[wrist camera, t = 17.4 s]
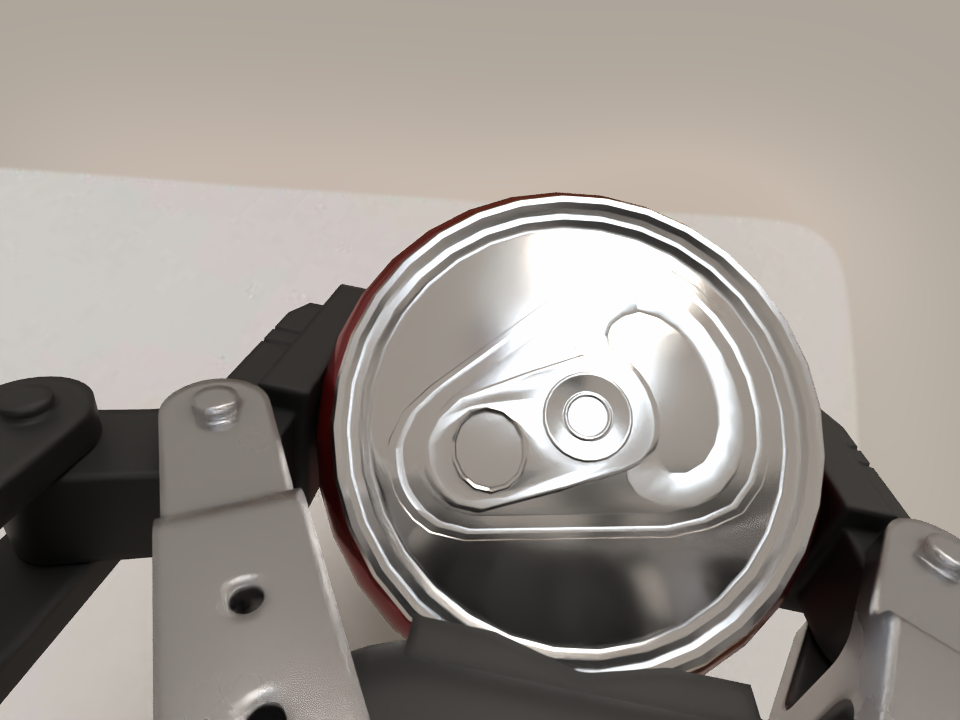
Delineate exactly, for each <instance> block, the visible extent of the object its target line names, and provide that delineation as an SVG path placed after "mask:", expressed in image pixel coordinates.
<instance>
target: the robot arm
mask: <svg viewBox="0 0 960 720" xmlns="http://www.w3.org/2000/svg"><path fill="white" fill-rule="evenodd" d="M365 291H366V289H364V288H359V287H354V286H349V285H344V284H342V285H340V286H339V287H338V288H337V290H336V291H335V292H334V293H333V294H332V296H331V297H330V298H329V299H328V300H327V301H326V303H325V304H324V305H319V304H314V303H309V304H307V305H304V306H302V307H300V308H298V309H295V310H293V311H291V312H289V313H288V314H287V315H286V316H285V317H284V318H283V319H282V320H281V321H280V322H279V323H278V324H277V325H276V326H275V329H272V331H271V332H270V333H269V334H268V335H267V336H266V337H265V339H264V341H261V342H260V343H259V344H258V345H257V346H256V347H255V349H254V350H253V351H252V352H251V353H250V354H249V355H248V356H247V357H246V358H245V359H244V360H243V361H242V362H241V363H240V364H239V365H238V366H237V368H236V369H235V370H234V371H233V372H232V373H231V374H230V375H229V376H228V377H227V378H226V379H210V380H204V381H200V382H196V383H193V384H190V385H187V386H185V387H183V388H181V389H179V390H177V391H176V392H174V393H172V394H171V395H170V396H169V397H168V398H167V399H166V400H165V401H164V402H163V403H162V405H161V407H160V409H139V410H98V409H97V405H96V401H95V398H94V394H93V391H92V390H91V389H90V387H88V386H87V385H86V384H84V383H82V382H80V381H78V380H74V379H71V378H65V377H52V376H50V377H34V378H27V379H22V380H17V381H13V382H9V383H5V384H3V385H0V529H1V528H2V527H4V529H5V532H6V535H5V536H4V537H3V538H1V539H0V704H1V703H2V702H3V700H4V699H5V698H6V697H7V696H8V694H9V693H10V692H11V691H12V690H13V688H14V687H15V686H16V685H17V684H18V682H19V681H20V680H21V679H22V678H23V676H24V675H25V674H26V673H27V672H28V670H29V669H30V668H31V667H32V666H33V664H34V663H35V662H36V661H37V660H38V658H39V657H40V656H41V655H42V654H43V652H44V651H45V650H46V649H47V648H48V646H49V645H50V644H51V643H52V642H53V640H54V639H55V638H56V637H57V636H58V634H59V633H60V632H61V631H62V630H63V628H64V627H65V626H66V625H67V624H68V622H69V621H70V620H71V619H72V618H73V616H74V615H75V614H76V613H77V612H78V610H79V609H80V608H81V607H82V606H83V604H84V603H85V602H86V601H87V600H88V598H89V597H90V596H91V595H92V594H93V592H94V591H95V590H96V589H97V588H98V586H99V585H100V584H101V583H102V582H103V580H104V579H105V578H106V577H107V576H108V574H109V573H110V572H111V571H112V570H113V568H114V567H115V566H116V565H117V564H118V562H119V561H120V560H123V559H135V558H148V557H152V564H153V720H762V719H761V718H760V715H759V711H758V708H757V705H756V701H755V698H754V695H753V692H752V688H751V685H748V684H743V683H739V682H734V681H729V680H724V679H720V678H715V677H710V676H705V675H701V674H696V673H691V672H686V671H681V670H677V669H672V668H653V669H638V670H623V671H608V672H593V673H588V672H581V671H578V670H575V669H573V668H571V667H569V666H566V665H564V664H562V663H560V662H558V661H556V660H554V659H552V658H550V657H548V656H546V655H544V654H541V653H539V652H537V651H535V650H533V649H531V648H529V647H527V646H525V645H523V644H521V643H519V642H516V641H514V640H512V639H510V638H508V637H506V636H504V635H502V634H500V633H498V632H495V631H491V630H486V629H481V628H476V627H472V626H467V625H462V624H457V623H453V622H448V621H443V620H438V619H433V618H429V617H424V616H419V615H414V614H413V617H412V622H411V626H410V630H409V634H408V638H407V641H395V642H386V643H381V644H376V645H371V646H367V647H363V648H360V649H357V650H354V651H351V652H350V649H349V645H348V642H347V638H346V635H345V631H344V628H343V625H342V621H341V618H340V614H339V611H338V607H337V604H336V600H335V597H334V593H333V590H332V587H331V583H330V580H329V576H328V573H327V569H326V566H325V562H324V559H323V555H322V552H321V548H320V545H319V542H318V538H317V535H316V531H315V528H314V524H313V521H312V517H311V514H310V510H309V506H310V504H311V502H312V500H313V498H314V496H315V494H316V492H317V490H318V488H319V476H318V463H317V449H316V436H315V433H316V425H317V417H318V409H319V401H320V394H321V388H322V383H323V379H324V376H325V373H326V370H327V367H328V364H329V360H330V357H331V354H332V351H333V348H334V345H335V342H336V339H337V337H338V335H339V333H340V332H341V330H342V328H343V326H344V325H345V323H346V321H347V319H348V317H349V316H350V314H351V312H352V310H353V309H354V307H355V305H356V303H357V302H358V300H359V298H360V296H361V295H362V294H363V293H364V292H365ZM821 415H822V426H823V437H824V448H825V459H826V465H825V474H824V484H823V494H822V504H821V513H820V516H819V519H818V522H817V525H816V529H815V532H814V535H813V538H812V541H811V545H810V548H809V551H808V554H807V557H806V561H805V563H804V564H803V566H802V568H801V570H800V572H799V573H798V575H797V577H796V579H795V580H794V582H793V584H792V586H791V588H790V589H789V591H788V593H787V595H786V597H785V598H784V600H783V602H782V604H781V605H780V607H779V608H782V609H787V610H792V611H796V612H801V613H804V615H805V618H806V620H807V621H806V622H805V623H804V625H803V626H802V627H801V628H800V629H799V630H798V632H797V633H796V635H795V637H794V640H793V644H792V647H791V650H790V653H789V656H788V659H787V663H786V666H785V669H784V672H783V675H782V678H781V682H780V685H779V688H778V691H777V694H776V697H775V701H774V704H773V707H772V710H771V713H770V716H769V719H768V720H960V539H959V538H957V537H956V536H954V535H952V534H950V533H949V532H947V531H945V530H943V529H941V528H938V527H936V526H934V525H932V524H929V523H926V522H923V521H920V520H916V519H911V518H910V517H909V516H908V514H907V513H906V512H905V510H904V509H903V508H902V506H901V505H900V503H899V502H898V501H897V500H896V498H895V497H894V495H893V494H892V493H891V491H890V490H889V489H888V487H887V486H886V485H885V483H884V482H883V481H882V479H881V478H880V477H879V476H878V474H877V472H876V471H875V470H874V468H871V467H869V464H870V463H869V462H868V460H867V459H866V458H865V456H864V455H863V454H862V452H861V451H858V450H857V446H856V444H855V443H854V442H853V440H852V439H851V438H850V436H849V435H848V433H847V432H846V431H845V429H844V428H843V427H842V426H841V425H840V424H838V423H837V422H836V421H835V420H833V419H832V418H831V417H830V416H829V415H827V414H826V413H825V412H824V411H822V410H821Z"/></svg>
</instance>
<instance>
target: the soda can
mask: <svg viewBox="0 0 960 720" xmlns="http://www.w3.org/2000/svg"><path fill="white" fill-rule="evenodd" d="M315 436H316V449H317V463H318V476H319V487H320V490H321V494H322V497H323V501H324V505H325V508H326V512H327V515H328V519H329V523H330V526H331V530H332V533H333V537H334V539H335V541H336V543H337V545H338V547H339V549H340V551H341V553H342V554H343V556H344V558H345V560H346V562H347V564H348V566H349V568H350V570H351V572H352V574H353V576H354V578H355V580H356V582H357V584H358V586H359V587H360V588H361V589H362V591H363V592H364V593H365V594H366V596H367V597H368V598H369V599H370V601H371V602H372V603H373V604H374V606H375V607H376V608H377V609H378V611H379V612H380V613H381V614H382V616H383V617H384V618H385V619H386V621H387V622H388V623H389V624H390V626H391V627H392V628H393V629H394V630H395V631H396V632H398V633H399V634H400V635H401V636H402V637H404V638H405V639H406V640H407V638H408V634H409V630H410V626H411V622H412V617H413V614H414V615H419V616H424V617H429V618H433V619H438V620H443V621H448V622H453V623H457V624H462V625H467V626H472V627H476V628H481V629H486V630H491V631H495V632H498V633H500V634H502V635H504V636H506V637H508V638H510V639H512V640H514V641H516V642H519V643H521V644H523V645H525V646H527V647H529V648H531V649H533V650H535V651H537V652H539V653H541V654H544V655H546V656H548V657H550V658H552V659H554V660H556V661H558V662H560V663H562V664H564V665H566V666H569V667H571V668H573V669H575V670H578V671H581V672H588V673H593V672H608V671H623V670H638V669H653V668H672V669H677V670H681V671H686V672H691V673H696V674H701V675H705V674H706V673H708V672H709V671H710V670H712V669H713V668H714V667H716V666H717V665H719V664H720V663H721V662H723V661H724V660H726V659H727V658H728V657H730V656H731V655H733V654H734V653H735V652H737V651H738V650H739V649H741V648H742V647H744V646H745V645H746V644H747V643H748V642H749V641H750V639H751V638H752V637H753V636H754V635H755V634H756V633H757V632H758V630H759V629H760V628H761V627H762V626H763V625H764V624H765V623H766V621H767V620H768V619H769V618H770V617H771V616H772V615H773V614H774V612H775V611H776V610H777V609H778V608H779V607H780V605H781V604H782V602H783V600H784V598H785V597H786V595H787V593H788V591H789V589H790V588H791V586H792V584H793V582H794V580H795V579H796V577H797V575H798V573H799V572H800V570H801V568H802V566H803V564H804V563H805V561H806V557H807V554H808V551H809V548H810V545H811V541H812V538H813V535H814V532H815V529H816V525H817V522H818V519H819V516H820V513H821V504H822V494H823V484H824V474H825V465H826V459H825V448H824V437H823V426H822V415H821V408H820V405H819V401H818V398H817V394H816V391H815V387H814V384H813V380H812V377H811V373H810V369H809V366H808V363H807V361H806V359H805V357H804V355H803V353H802V351H801V349H800V347H799V345H798V343H797V341H796V339H795V337H794V335H793V332H792V330H791V328H790V326H789V324H788V322H787V321H786V319H785V318H784V317H783V315H782V314H781V312H780V311H779V310H778V308H777V307H776V306H775V304H774V303H773V302H772V300H771V299H770V297H769V296H768V295H767V293H766V292H765V291H764V289H763V288H762V287H761V285H760V284H759V283H758V282H757V281H756V280H755V279H754V278H753V277H752V276H751V275H750V274H749V273H748V272H747V271H746V270H745V269H743V268H742V267H741V266H740V265H739V264H738V263H737V262H736V261H735V260H734V259H733V258H732V257H731V256H730V255H729V254H728V253H727V252H725V251H724V250H722V249H721V248H719V247H718V246H717V245H715V244H714V243H712V242H711V241H709V240H708V239H706V238H705V237H703V236H702V235H700V234H699V233H697V232H696V231H694V230H693V229H691V228H690V227H688V226H686V225H684V224H682V223H680V222H678V221H675V220H673V219H671V218H669V217H667V216H664V215H662V214H660V213H658V212H655V211H653V210H651V209H649V208H646V207H644V206H640V205H636V204H632V203H628V202H624V201H620V200H616V199H612V198H608V197H604V196H599V195H584V194H571V193H557V192H556V193H546V194H537V195H529V196H519V197H511V198H508V199H504V200H501V201H497V202H494V203H491V204H487V205H484V206H481V207H477V208H474V209H471V210H468V211H466V212H464V213H462V214H460V215H458V216H456V217H454V218H452V219H451V220H449V221H447V222H445V223H443V224H441V225H439V226H437V227H435V228H433V229H431V230H429V231H428V232H427V233H425V234H424V235H423V236H421V237H420V238H419V239H418V240H416V241H415V242H414V243H413V244H411V245H410V246H409V247H407V248H406V249H405V250H404V251H402V252H401V253H400V254H399V255H397V256H396V257H395V258H394V259H392V260H391V262H390V263H389V264H388V265H387V266H386V267H385V269H384V270H383V271H382V272H381V273H380V274H379V275H378V277H377V278H376V279H375V280H374V281H373V282H372V284H371V285H370V286H369V287H368V288H367V289H366V291H365V292H364V293H363V294H362V295H361V296H360V298H359V300H358V302H357V303H356V305H355V307H354V309H353V310H352V312H351V314H350V316H349V317H348V319H347V321H346V323H345V325H344V326H343V328H342V330H341V332H340V333H339V335H338V337H337V339H336V342H335V345H334V348H333V351H332V354H331V357H330V360H329V364H328V367H327V370H326V373H325V376H324V379H323V383H322V388H321V394H320V401H319V409H318V417H317V425H316V433H315Z"/></svg>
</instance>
